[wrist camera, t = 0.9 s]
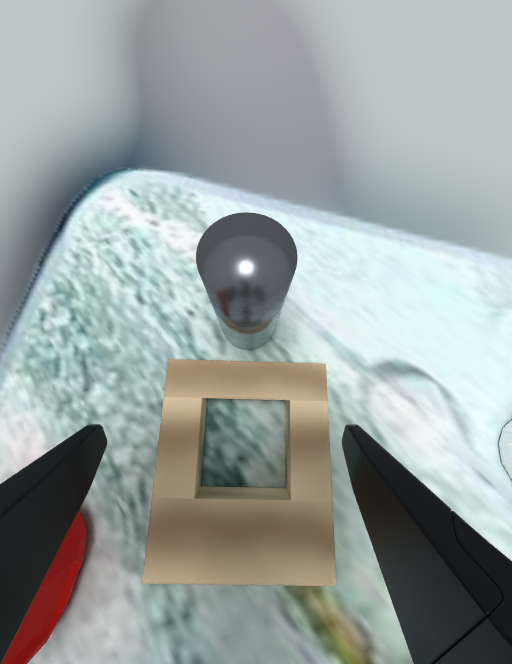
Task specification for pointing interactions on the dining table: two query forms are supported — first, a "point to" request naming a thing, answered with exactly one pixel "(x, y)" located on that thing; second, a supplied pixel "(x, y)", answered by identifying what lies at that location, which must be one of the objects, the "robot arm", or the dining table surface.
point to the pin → (247, 275)
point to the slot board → (242, 502)
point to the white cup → (506, 447)
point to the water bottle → (50, 597)
